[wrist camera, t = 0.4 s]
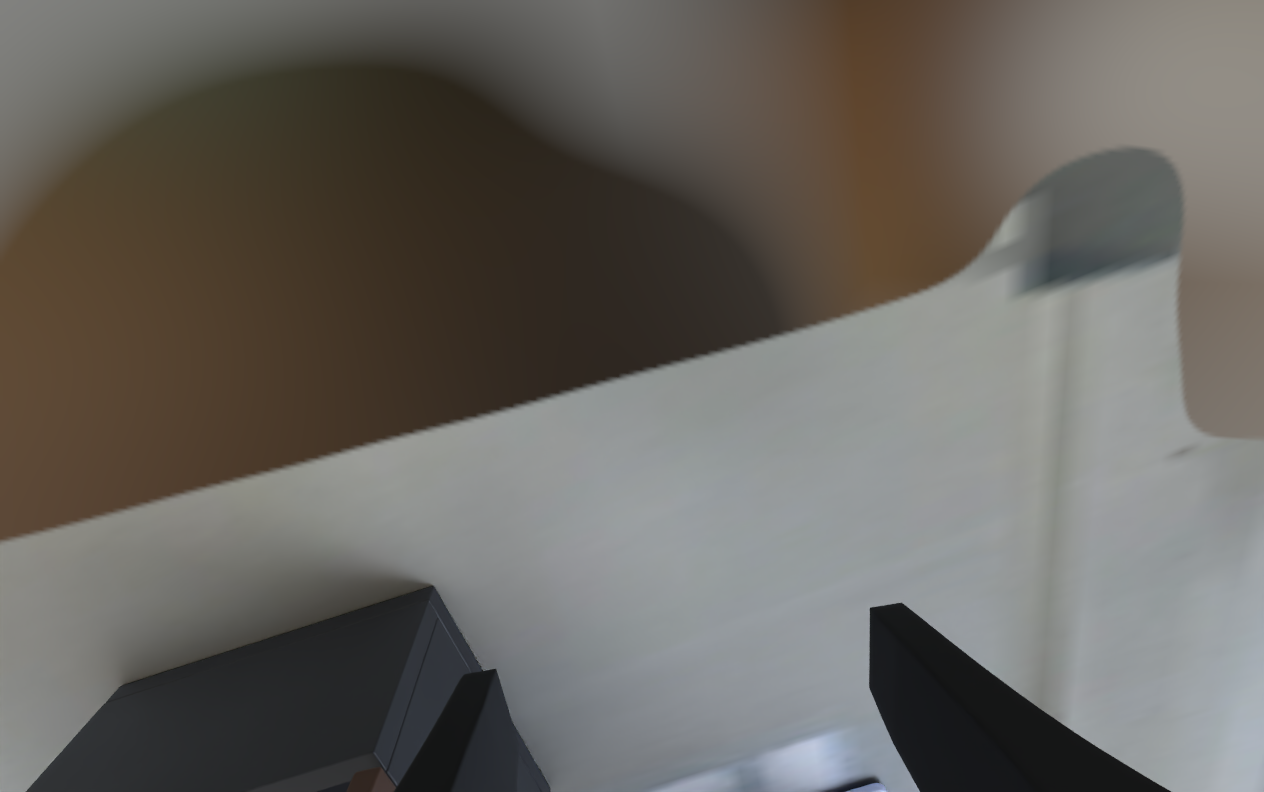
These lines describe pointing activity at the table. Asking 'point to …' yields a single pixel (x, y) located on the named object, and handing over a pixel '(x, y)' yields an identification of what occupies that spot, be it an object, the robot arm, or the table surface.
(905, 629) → the robot arm
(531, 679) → the table surface
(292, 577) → the table surface
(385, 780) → the lid
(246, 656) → the storage box
